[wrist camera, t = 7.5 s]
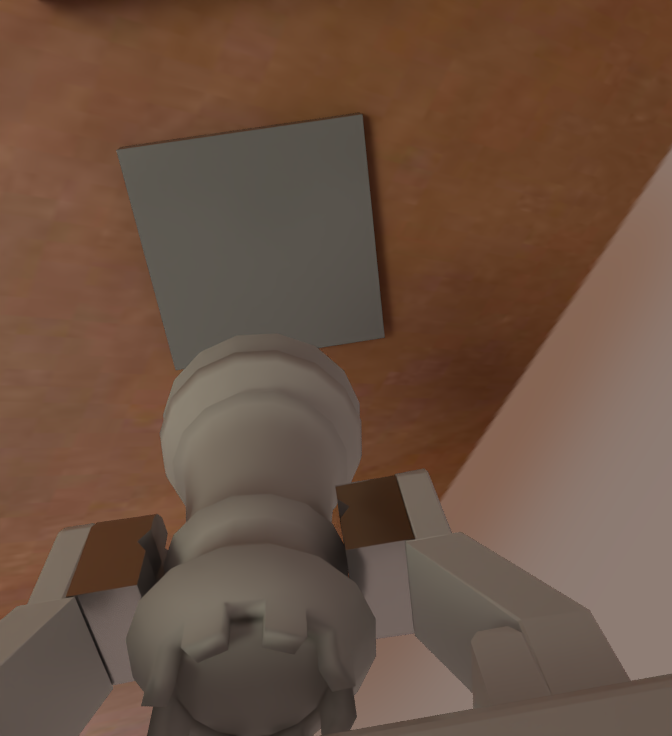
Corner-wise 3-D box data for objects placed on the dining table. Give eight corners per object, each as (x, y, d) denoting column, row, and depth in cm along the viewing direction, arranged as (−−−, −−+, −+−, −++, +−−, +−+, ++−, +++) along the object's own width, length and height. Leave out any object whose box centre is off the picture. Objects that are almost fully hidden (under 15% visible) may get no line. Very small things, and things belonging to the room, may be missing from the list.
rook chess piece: (395, 385, 15) (513, 648, 7) (296, 526, 16) (314, 875, 9) (226, 288, 14) (165, 486, 6) (132, 448, 15) (-11, 774, 7)
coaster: (120, 146, 24) (116, 149, 23) (359, 112, 24) (362, 114, 23) (178, 362, 28) (175, 370, 27) (381, 330, 28) (384, 337, 27)
